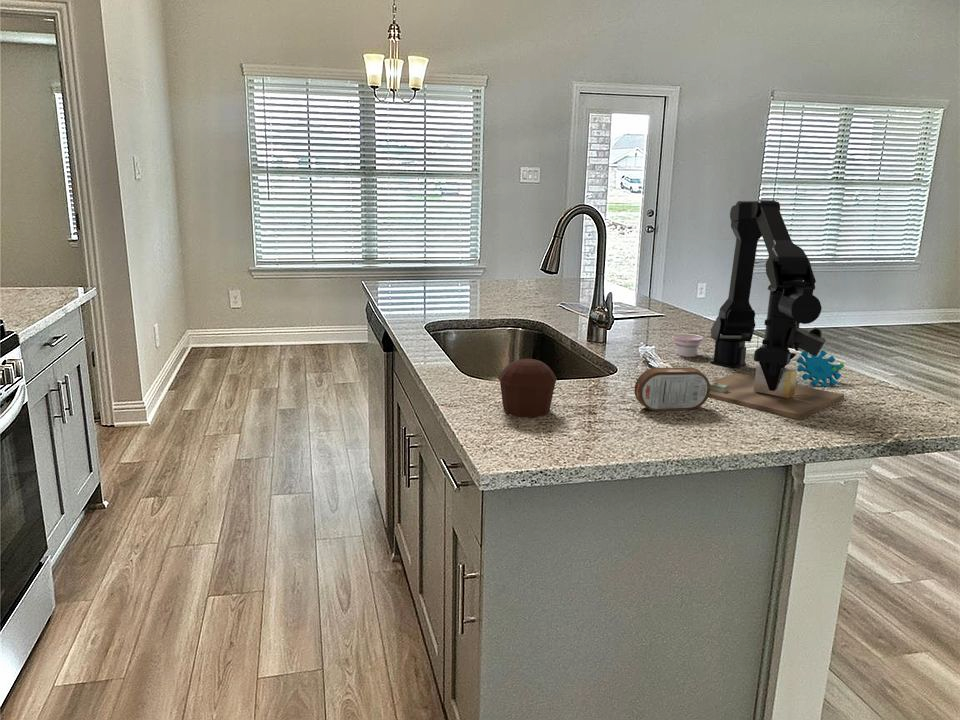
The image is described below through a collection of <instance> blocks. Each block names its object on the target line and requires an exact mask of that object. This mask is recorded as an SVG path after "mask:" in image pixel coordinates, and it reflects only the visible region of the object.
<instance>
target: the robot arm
mask: <svg viewBox="0 0 960 720" xmlns="http://www.w3.org/2000/svg"><path fill="white" fill-rule="evenodd" d="M729 218H730V227H731V230H732V233H733V234H734V237H735V246H734V252H733V253H734V254H733V259H732V268H731V276H730V285H729V290H728V298H727V299H726V300H725V302H723V304H722V306H720V308H719V311H718V316H717V317H716V318H715V321H714V323H713V325H712V326H711V328H710V338H711V339H712V340H713V341H715V343H714V354H713V360H710V361H709V362H710V363H709V364H713V365H717V366H721V367H728V368H732V369H733V368H734V369H735V368H738V367H741V366H744V365H743V364H745V365H746V364H747V363H746V355H747V347H746V342H749V343H751V342H752V339H753V335H754V332H755V328H756V322H755V321H756V320H755V319H756V312H755V310H753V308H752V306H751V304H750V297H751V288H752V283H753V275H754V269H755V264H756V263H755V262H756V254H757V248H758V242H759V240H760V239H762V240H763V242H764V245H765V248H766V250H767V255H768V257H767V260H766V262H765V273H766V276H767V278H768V281H769V283H770V284H769V285H768V287H767V290H768V291H769V296H768V297H769V298H768V307H767V313H766V314H767V315H766V319H764V326H765V332H764V338H763V339H762V343H761V344H762V345H760V346H759V347H758V348H757V349H755V351H754V353H753V361H754V362H759V365H760V366H761V368H762V371H763V374H764V376H765V379H766V382H767V385H768V388H769V390H771V391H775V389H776V386H777V383H778V380H779V376H780V373H781V370H782V368H783V367H784V368H786V366H788V365H789V364H790V362H791V361H792V359H793V358H795V357H796V356H797V353H794V352H791V351H790V349H792V350H793V349H794V351H795V352H798V351H800V350H803V351H807V352H808V354H809V355H810V356H811V355H813V356H816V357H818V356H819V353H820V352H821V351H822V348H823V347H824V345H825V343H826V341H827V339H826V337H824V336H823V333H822V332H823V331H822V329H819V328H818V327H813V328H812V329H810V330H808V329H803V328H801V327H800V326H801V325H800V324H803V325H807V324H808V325H809V324H812V323H813V322H814V321H816V320H817V319H818V318H819V317H820V315H821V313H822V305H821V304H822V303H821V301H820V300H819V298H818V297H817V296H815V295H814V290H815V289H816V285H815V284H816V282H817V281H816V277H815V275H814V272H813V269H812V266H811V264H812V263H811V262H810V260H809V258H808V256H807V254H806V253H805V251H804V249H803V248H802V247H800V246H798V245H797V244H795V243H794V242H793V240H792V238H791V236H790V233H789V230H788V228H787V226H786V223H785V220H784V219H783V216H782V213H781V205H780V202H779V201H777V200H773V199H771V200H770V199H769V200H768V199H758V200H756V201H755V200H754V201H753V200H738V201H737V202H736V203H735V204H734V205H732V206H731V208H730V213H729Z"/></svg>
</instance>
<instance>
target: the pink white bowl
mask: <svg viewBox="0 0 960 720" xmlns="http://www.w3.org/2000/svg"><path fill="white" fill-rule="evenodd" d="M672 339H673V341H674V345H675V346H676V348H675V349H676V350H675V355H677V356H679V357H683V358H694V357H697V356H698V350H699V349H698V348H699V347H700V345H701V343H703V341H704V336H702V335H700V334H695V333H686V332H685V333H674V334H672Z"/></svg>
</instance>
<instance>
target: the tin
mask: <svg viewBox="0 0 960 720" xmlns="http://www.w3.org/2000/svg"><path fill="white" fill-rule="evenodd" d="M633 392H634V396H635V399H636V400H637V402H639V403H638V404H641V405H642V406H643V407H644V408H646V409H648V410H650V411H655V412H659V411H660V412H661V411H662V412H663V411H664V412H665V411H690V410H691V411H693V410H696V409H698V408H700V407H701V406H702V405H704V404H705V402H707V400H708V398H709V397H708V396H709V392H710V383H709V379H708V377H707V376H706V375H705V374H704V373H702V371H700V370H699V369H697V368H694V367H652V368H650V369H649V368H648V369H646V370H645V371H644V372H642V373H641V374H640V375H639V377H638V378H637V379H636V382H635V384H634V391H633Z"/></svg>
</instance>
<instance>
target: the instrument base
mask: <svg viewBox="0 0 960 720" xmlns="http://www.w3.org/2000/svg"><path fill="white" fill-rule="evenodd" d="M709 383H710V392H709V396H708V398H711V399H715V400H719V401H723V402H726V403H730V404H735V405H739V406H741V407H747V408H750V409H754V410H758V411H762V412H765V413H770V414H774V415H778V416H782V417H786V418H791V419H794V420H798V421H801V420H804V419H806V418H807V417H810V416H812V415H814V414H816V413H817V412H819V411H821V410H823V409H825V408H827V407H829V406H831V405H833V404H835V403H837V402H839V401H841V400H843V399H844V397H845V394H843V393H839V392H834V391H828V390H824V389H818V388H813V387H810V386H809V387H808V386H803V385H799V384H796V385H795V393H794V396H793V397H790V398H783V397H780V396H775V395H770V394H766V393H761V392H756V391H754V383H755V375H750V374H745V373H741V372H735V373H732V374H729V375H726V376H723V377H720V378H716V379H714V380H711V381H709ZM842 398H843V399H842Z"/></svg>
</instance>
